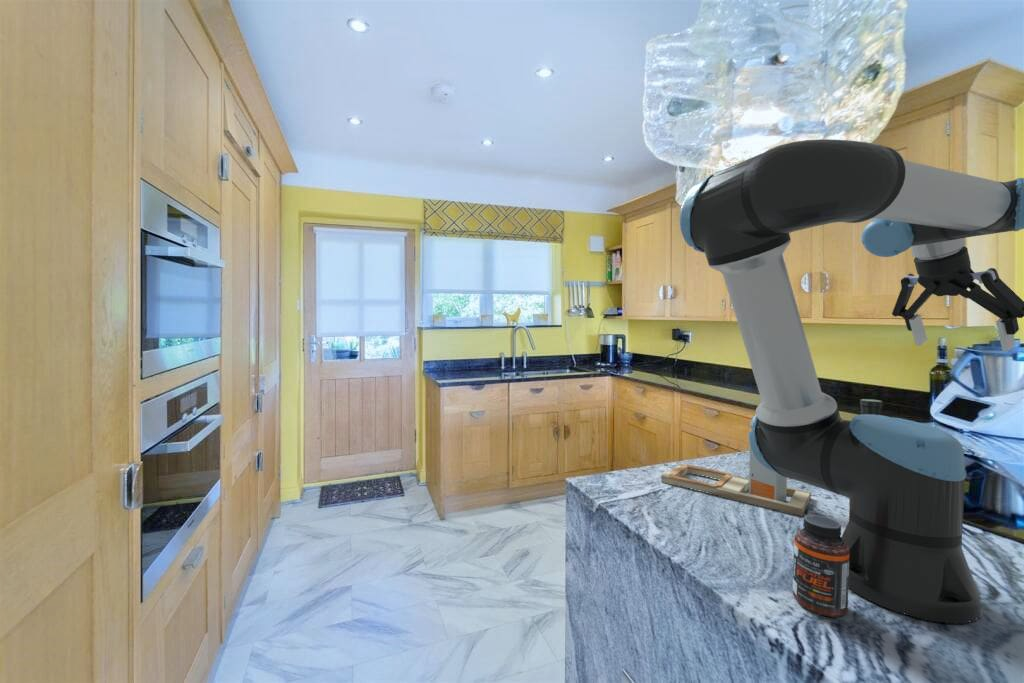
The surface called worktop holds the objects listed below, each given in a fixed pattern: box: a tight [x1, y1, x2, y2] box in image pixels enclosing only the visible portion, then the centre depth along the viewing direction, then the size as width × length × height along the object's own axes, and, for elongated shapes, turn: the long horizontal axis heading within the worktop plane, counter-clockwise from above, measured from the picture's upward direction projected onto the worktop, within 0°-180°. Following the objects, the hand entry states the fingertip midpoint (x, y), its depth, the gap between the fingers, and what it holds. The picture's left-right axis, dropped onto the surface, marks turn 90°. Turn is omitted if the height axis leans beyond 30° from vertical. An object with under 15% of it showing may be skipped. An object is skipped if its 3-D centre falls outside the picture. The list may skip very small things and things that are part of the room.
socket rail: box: [660, 463, 812, 517], centre depth 96 cm, size 12×28×2 cm, turn 48°
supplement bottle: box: [792, 514, 850, 618], centre depth 56 cm, size 6×6×11 cm
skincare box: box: [748, 446, 788, 502], centre depth 91 cm, size 6×4×12 cm
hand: (962, 345), depth 88 cm, fingers open, 13 cm apart
